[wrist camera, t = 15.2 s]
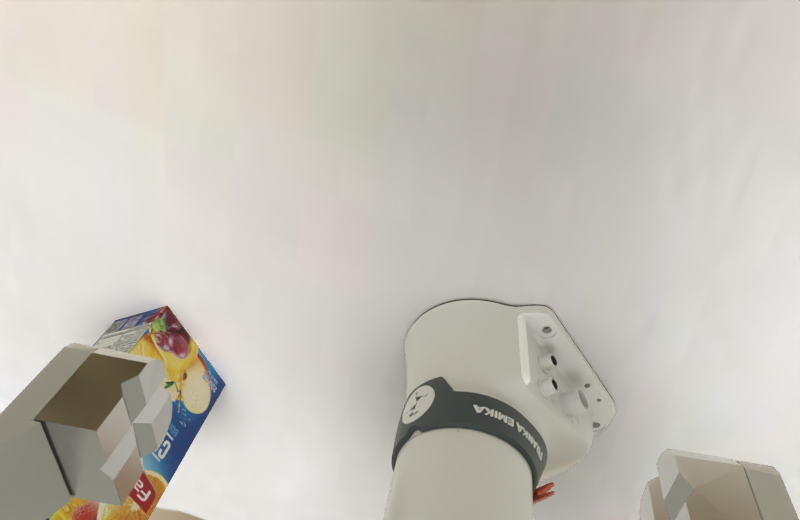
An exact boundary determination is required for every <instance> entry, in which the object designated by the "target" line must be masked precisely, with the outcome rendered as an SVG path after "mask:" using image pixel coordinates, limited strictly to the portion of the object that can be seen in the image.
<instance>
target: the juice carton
mask: <svg viewBox="0 0 800 520" xmlns="http://www.w3.org/2000/svg"><path fill="white" fill-rule="evenodd" d="M93 347H98V348H105V349H110V350H115V351H120V352H125V353H129V354H134V355H139V356H144V357H149V358H154V359H157V360H160V361H162V362H163V366H164V369H165V373H166V377H165V378H164V380H163V381H162V382H161V385H162V386H163V387H164V388H165V389H166V390H167V391H168V392H169V393H170V395H171V400H172V418H171V422H170V425H169V428H168V431H167V434H166V436H165V438H164V439H163V441H162V443H161V444H160V446H159V448H158V449H157V450H155V451H153V452H152V453H150V454H148V455H147V456H145V457H143V458H142V462H143V469H144V472H143V473H142V475H141V477H140V478H139V480H138V481H137V483H136V484H135V486H134V488H133V489H132V491H131V492H130V494H129V496H128V497H127V499H126V500H125V502H124V503H123V505H122V506H118V505H112V504H106V503H101V502H95V501H89V500H84V499H78V498H72V497H71V498H72V501H71V502H69V503H68V504H66V505H65V506H64V507H62V508H61V509H60V510H58V511H57V512H55V513H54V514H53V515H51V516H50V517H48V518H47V519H46V520H148V519H149V517H150V515H151V513H152V512H153V510H154V508H155V506H156V505H157V503H158V501H159V499H160V498H161V496H162V494H163V492H164V491H165V489H166V487H167V485H168V484H169V482H170V480H171V479H172V477H173V475H174V473H175V472H176V470H177V468H178V466H179V465H180V463H181V461H182V459H183V458H184V456H185V454H186V452H187V451H188V449H189V447H190V445H191V444H192V442H193V440H194V438H195V437H196V435H197V433H198V431H199V430H200V428H201V426H202V424H203V423H204V421H205V419H206V417H207V416H208V414H209V412H210V410H211V409H212V407H213V405H214V403H215V402H216V400H217V398H218V396H219V395H220V393H221V391H222V389H223V388H224V386H225V383H224V382H223V380H222V379H221V378H220V376H219V375H218V374H217V372H216V371H215V370H214V368H213V367H212V365H211V364H210V363H209V361H208V360H207V359H206V357H205V356H204V355H203V353H202V352H201V351H200V349H199V348H198V347H197V345H196V344H195V342H194V341H193V340H192V338H191V337H190V336H189V334H188V333H187V332H186V330H185V329H184V328H183V326H182V325H181V324H180V322H179V321H178V319H177V318H176V317H175V315H174V314H173V313H172V311H171V310H170V309H169V307H168V306H166V307H162V308H158V309H155V310H151V311H148V312H144V313H141V314H137V315H134V316H130V317H126V318H123V319H119V320H116V321H115V322H114V323H113V324H112V325H111V326H110V327H109V329H108V330H107V331H106V332H105V333H104V334H103V335H102V336H101V338H100V339H99V340H98V341H97V342H96V343H95V344H94V345H93Z"/></svg>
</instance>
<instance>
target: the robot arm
mask: <svg viewBox="0 0 800 520" xmlns="http://www.w3.org/2000/svg"><path fill="white" fill-rule="evenodd" d="M544 327H550V328H549V329H545V328H544ZM404 352H405V360H406V373H407V385H406V403H405V406H404V409H403V411H402V414H401V418H400V421H399V424H398V429H397V434H396V438H395V443H394V449H393V454H392V468H393V472H394V473H393V478H392V482H391V487H390V491H389V496H388V501H387V505H386V510H385V515H384V519H383V520H534V519H533V504H534V503H536V502H539V501H541V500H543V499H546V498H548V497H550V496H551V495H553V494H554V491H552V492H548V493H546V492H547V491H549V490H550V489H551V488H552V487H553V486H554V483H553V482H552V483H548V484H546V485H544V486H541V487H539V488H537V489H535V488H536V486H537V485H538V482H541V481H544V480H547V479H549V478H552V477H554V476H556V475H558V474H560V473H563V472H564V471H566V470H568V469H570V468H571V467H573V466H574V465H576V464H577V463H578V462H580V461H581V460H582V459H583V458H584V457H585V456H586V454H587V453H588V452H589V450H590V448H591V445H592V441H593V438H594V437H595V436H596V435H598V434H599V433H600V432H602V431H603V430H604V429H605V428H606V427H607V426H608V425H609V424H610V422H611V421H612V419H613V418H614V416H615V414H616V405H615V403H614V401H613V400H612V398H611V397H610V395H609V394H608V392H607V391H606V389H605V388H604V386H603V385H602V383H601V382H600V380H599V379H598V377H597V376H596V374H595V373H594V371H593V370H592V368H591V367H590V365H589V364H588V363H587V361H586V360H585V358H584V357H583V355H582V354H581V352H580V351H579V349H578V348H577V346H576V345H575V343H574V342H573V340H572V339H571V337H570V336H569V334H568V333H567V331H566V330H565V329H564V327H563V326H562V324H561V323H560V321H559V320H558V318H557V317H556V315H555V314H554V312H553V311H552V310H551V309H549V308H548V307H545V306H521V307H512V306H506V305H502V304H498V303H494V302H489V301H482V300H461V301H454V302H450V303H446V304H443V305H440V306H437V307H435V308H433V309H431V310H429V311H428V312H426V313H425V314H423V315H422V316H421V317H420V318H419V319H417V321H416V322H415V323H414V324H413V325H412V327H411V328H410V330H409V332H408V334H407V337H406V340H405V347H404ZM165 377H166V373H165V369H164V366H163V362H162V361H160V360H157V359H154V358H149V357H144V356H139V355H134V354H129V353H125V352H120V351H115V350H110V349H105V348H98V347H93V346H88V345H83V344H78V343H73V344H70V345H68V346H66V347H64V348H63V349H62V350H61V351H60V352H59V353H58V354H57V355H56V356H55V357H54V358H53V359H52V360H51V361H50V362H49V364H48V365H47V366H46V367H45V368H44V369H43V370H42V371H41V372H40V373H39V374H38V375H37V376H36V377H35V378H34V379H33V380H32V381H31V382H30V384H29V385H28V386H27V387H26V388H25V389H24V390H23V391H22V392H21V393H20V394H19V395H18V396H17V397H16V398H15V399H14V400H13V401H12V402H11V404H10V405H9V406H8V407H7V408H6V409H5V410H4V411H3V412H2V413H1V414H0V520H46V519H47V518H48V517H50V516H51V515H53V514H54V513H55V512H57V511H58V510H60V509H61V508H62V507H64V506H65V505H66V504H68V503H69V502H71V501H72V498H78V499H84V500H89V501H95V502H101V503H106V504H112V505H118V506H122V505H123V503H124V502H125V500H126V499H127V497H128V496H129V494H130V492H131V491H132V489H133V488H134V486H135V484H136V483H137V481H138V480H139V478H140V477H141V475H142V473H143V472H144V469H143V462H142V458H143V457H145V456H147V455H148V454H150V453H152V452H153V451H155V450H157V449H158V448H159V446H160V444H161V443H162V441H163V439H164V438H165V436H166V434H167V431H168V428H169V425H170V422H171V418H172V400H171V395H170V393H169V392H168V391H167V390H166V389H165V388H164V387H163V386H162V385H161V382H162V381H163V380H164V378H165ZM657 468H658V473H659V477H657V478H655V479H653V480H651V481H649V482H648V483H647V485H646V488H645V490H644V493H643V495H642V500H641V507H640V520H799V519H798V516H797V514H796V511H795V509H794V507H793V504H792V502H791V499H790V497H789V494H788V492H787V490H786V487H785V485H784V482H783V480H782V478H781V475H780V473H779V472H778V471H777V470H776V469H775V468H774V467H772V466H766V465H760V464H754V463H748V462H743V461H735V460H733V459H727V458H721V457H715V456H709V455H703V454H697V453H691V452H685V451H679V450H673V449H667V450H665V451H664V452H663V453H662V454H661V456H660V458H659V460H658V462H657ZM544 493H545V494H544ZM71 497H72V498H71Z"/></svg>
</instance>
